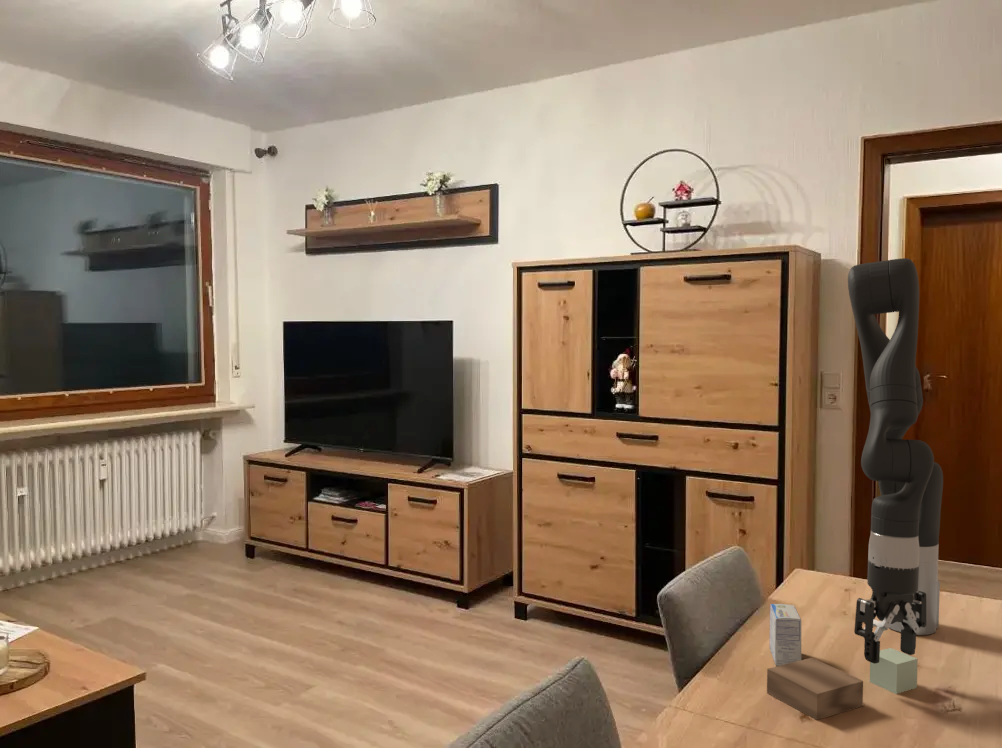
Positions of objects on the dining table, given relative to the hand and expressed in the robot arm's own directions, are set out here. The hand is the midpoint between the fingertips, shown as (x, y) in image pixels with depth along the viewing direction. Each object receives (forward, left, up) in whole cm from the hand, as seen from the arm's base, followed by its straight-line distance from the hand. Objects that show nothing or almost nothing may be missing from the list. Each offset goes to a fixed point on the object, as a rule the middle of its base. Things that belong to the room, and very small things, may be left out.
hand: (889, 657), depth 132 cm
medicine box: (+7, -16, -5) cm, 18 cm away
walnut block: (+15, -2, -5) cm, 16 cm away
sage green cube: (-1, 0, -5) cm, 5 cm away
